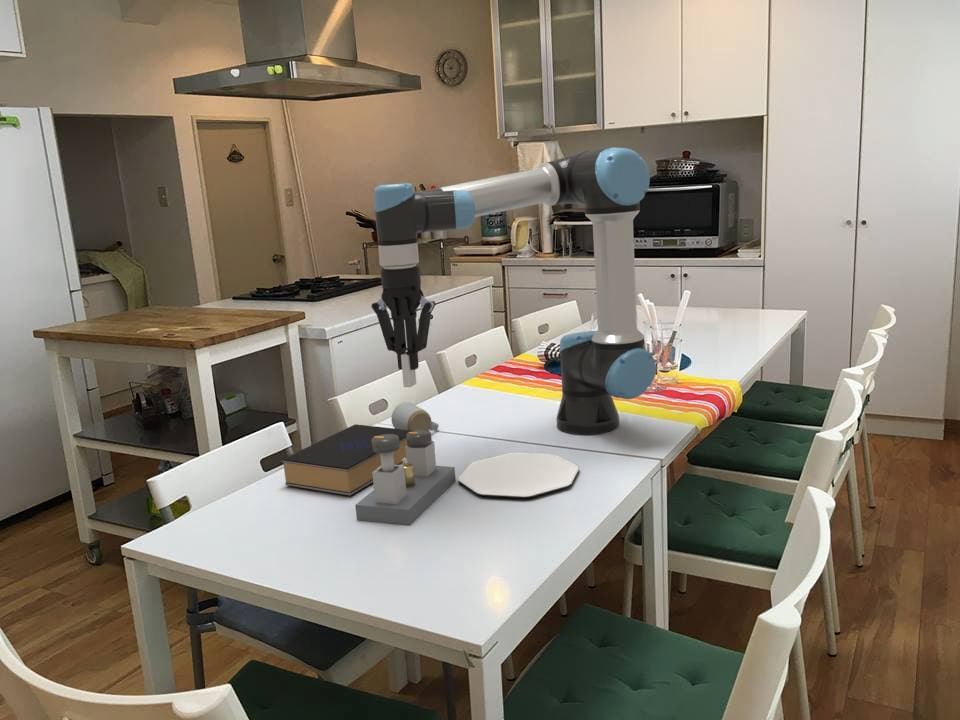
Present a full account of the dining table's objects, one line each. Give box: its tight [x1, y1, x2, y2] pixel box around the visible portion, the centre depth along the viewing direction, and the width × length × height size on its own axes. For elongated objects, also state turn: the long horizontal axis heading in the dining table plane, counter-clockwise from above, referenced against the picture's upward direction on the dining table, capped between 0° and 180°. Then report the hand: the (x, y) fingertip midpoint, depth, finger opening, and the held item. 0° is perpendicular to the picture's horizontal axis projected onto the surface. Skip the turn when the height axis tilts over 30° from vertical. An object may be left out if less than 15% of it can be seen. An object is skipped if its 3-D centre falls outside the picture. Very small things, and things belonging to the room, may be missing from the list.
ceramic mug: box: [391, 401, 439, 431], centre depth 200 cm, size 11×8×8 cm
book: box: [281, 423, 413, 497], centre depth 177 cm, size 17×25×7 cm
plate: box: [457, 452, 580, 499], centre depth 167 cm, size 24×24×2 cm
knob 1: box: [372, 434, 400, 472], centre depth 151 cm, size 5×5×8 cm
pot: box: [400, 458, 415, 488], centre depth 158 cm, size 3×3×6 cm
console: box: [354, 441, 456, 526], centre depth 159 cm, size 11×22×9 cm, turn 159°
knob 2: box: [406, 430, 432, 447], centre depth 164 cm, size 5×5×8 cm
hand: (410, 385), depth 160 cm, fingers closed
